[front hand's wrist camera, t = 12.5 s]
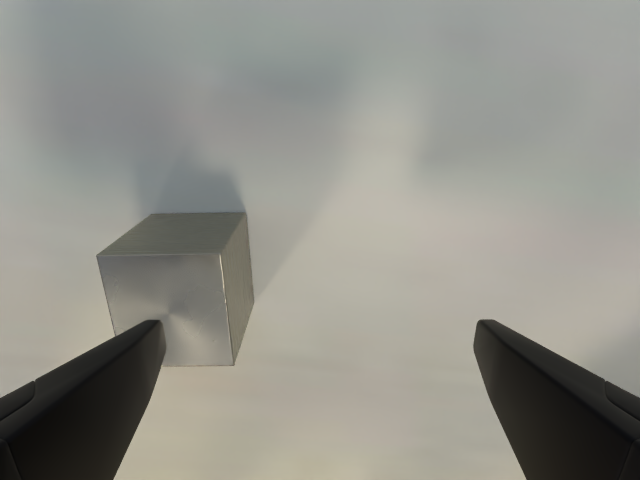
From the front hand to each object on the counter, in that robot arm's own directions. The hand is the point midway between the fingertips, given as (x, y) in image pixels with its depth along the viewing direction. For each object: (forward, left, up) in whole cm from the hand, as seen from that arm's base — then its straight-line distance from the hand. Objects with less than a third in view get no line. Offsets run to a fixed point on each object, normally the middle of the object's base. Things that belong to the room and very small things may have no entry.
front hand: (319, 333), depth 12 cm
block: (-3, +4, -8) cm, 9 cm away
